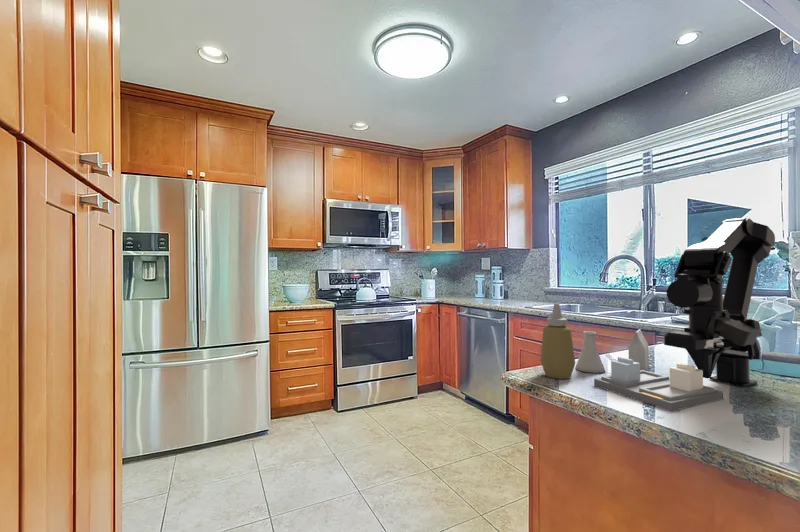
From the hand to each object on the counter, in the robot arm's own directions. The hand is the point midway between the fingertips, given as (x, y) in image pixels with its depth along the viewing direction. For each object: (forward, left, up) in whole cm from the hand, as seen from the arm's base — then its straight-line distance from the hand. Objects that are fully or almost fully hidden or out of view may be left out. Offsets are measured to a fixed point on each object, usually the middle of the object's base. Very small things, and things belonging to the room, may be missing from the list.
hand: (706, 377), depth 81 cm
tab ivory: (+7, 0, -1) cm, 7 cm away
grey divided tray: (+10, -5, -3) cm, 11 cm away
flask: (+8, -23, -3) cm, 24 cm away
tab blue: (+13, -9, -1) cm, 16 cm away
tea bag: (-5, -19, -3) cm, 20 cm away
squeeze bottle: (+20, -22, -3) cm, 30 cm away
